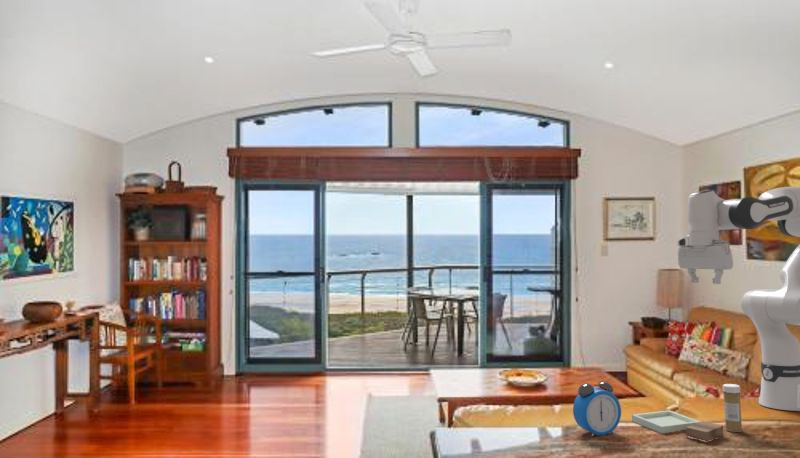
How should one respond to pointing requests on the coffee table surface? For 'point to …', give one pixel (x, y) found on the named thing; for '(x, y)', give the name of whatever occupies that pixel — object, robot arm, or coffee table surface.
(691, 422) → the dish
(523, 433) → the coffee table surface
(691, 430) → the walnut block
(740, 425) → the sprinkles bottle
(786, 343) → the robot arm
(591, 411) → the alarm clock
